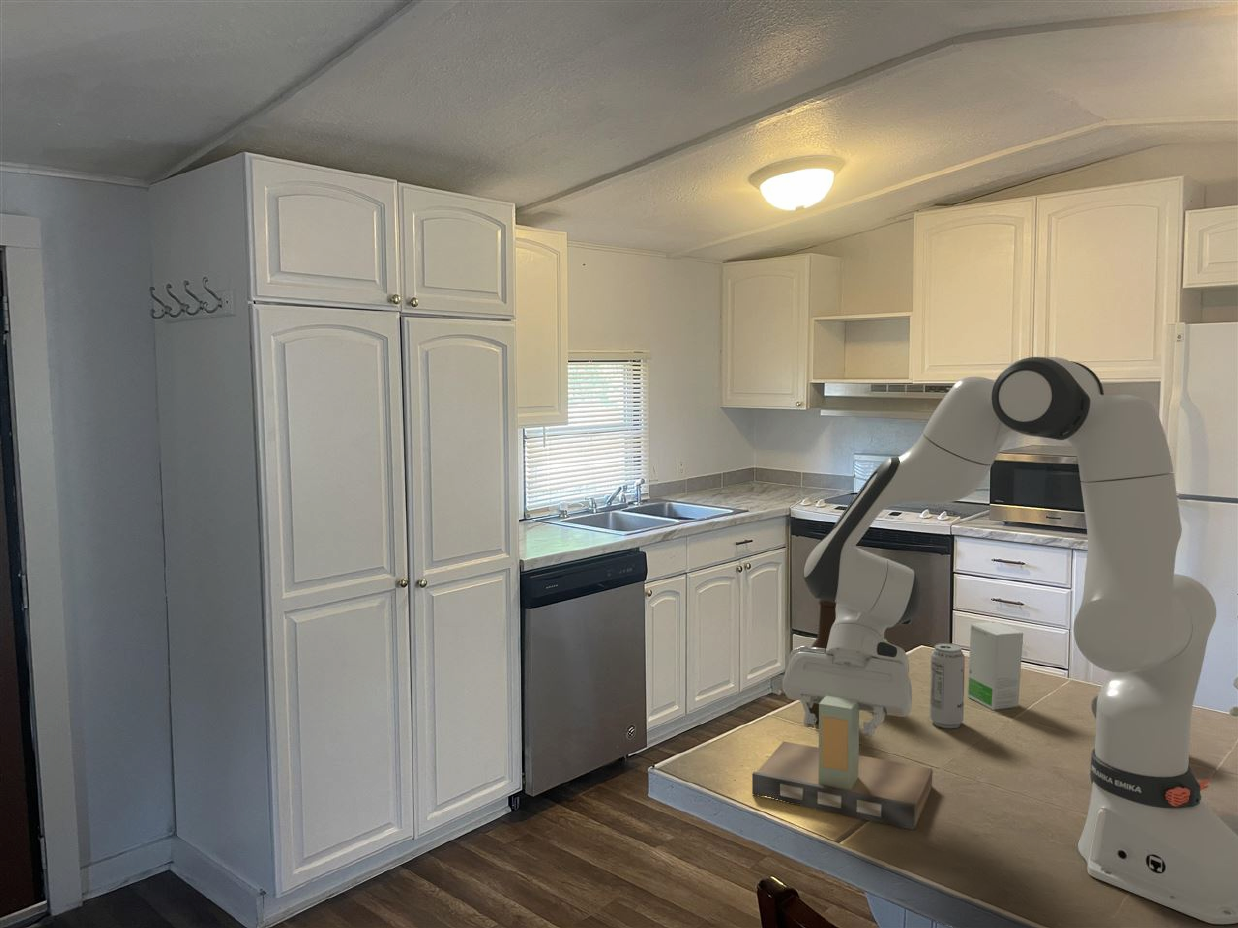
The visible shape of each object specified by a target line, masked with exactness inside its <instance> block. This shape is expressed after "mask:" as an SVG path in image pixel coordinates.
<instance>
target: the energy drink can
mask: <svg viewBox="0 0 1238 928" xmlns="http://www.w3.org/2000/svg"><path fill="white" fill-rule="evenodd" d="M965 657H966V656H965V654H964V652H963V651H962V647H961V645H958V644H955V643H951V642H950V643H949V642H948V643H947V642H941V643H936V644H934V648H933V650H932V652H931V654H930V689H929V691H930V692H929V694H930V697H929V699H930V700H929V718H930V719H931V720H932V723H933V725H935V727H936V726H937V727H940V728H943V729H956V728H959V727H960V726H961V724H962V723H963V722H964V710H965V707H964V706H965V704H964V703H965V671H966V669H965V666H966V664H965V663H966V658H965Z"/></svg>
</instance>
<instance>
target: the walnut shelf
mask: <svg viewBox="0 0 1238 928" xmlns="http://www.w3.org/2000/svg"><path fill="white" fill-rule="evenodd" d="M751 775H752V776H751V777H752V781H751V782H752V783H751V785H752V788H751V789H752V791H751V792H752V794H754V795H759V796H767V797H771V798H774V799H778V800H782V801H785V802H784V803H786V802H789V803H788V804H791V803H794V804H793V805H796V804H798V805H797V806H800V805H802V806H801V807H805V806H806V807H807V808H809V807H811V808H810V809H814V808H816V809H815V810H820V811H823V812H829V813H833V814H837V815H842V816H845V817H846V816H847V817H850V818H851V817H852V818H855V819H860V820H866V821H870V822H875V823H880V824H883V825H887V826H892V827H898V828H902V829H907V830H912V831H914V830H915V828H916V826H917V823H918V821H919V819H920V816H921V814H922V811H923V809H924V807H925V804H926V802H927V800H928V798H929V795H930V794H931V793H930V792H931V791H932V788H933V768H932V767H931V768H930V767H927V766H926V767H925V766H920V765H914V764H909V763H903V762H899V761H892V760H886V759H883V758H876V757H872V756H871V757H870V756H865V755H860V754H859V761H858V779H857V780H856V782H855V784H854V785H853V787H852V789H851V790H846V789H842V788H837V787H832V786H827V785H822V784H819V747H817V746H811V745H806V744H801V743H795V742H790V741H782V742H781V743H780V745H779V746H777V748H776V749H775V751H773V753H772V754H771V755H770V756H769V758H767V760H766V761H765V762H764V763H763V764H762V766H761V767H760V768H759V769H758V770H757V771H753V772H752V773H751ZM752 794H751V795H752ZM754 795H753V796H754ZM759 796H758V797H759ZM782 801H781V802H782Z"/></svg>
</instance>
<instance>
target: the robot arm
mask: <svg viewBox="0 0 1238 928" xmlns="http://www.w3.org/2000/svg"><path fill="white" fill-rule="evenodd" d="M1104 391H1105V390H1104V387H1103V385H1102V382H1101V380H1100V378H1099V377H1098V376H1097V374H1096V373H1095V372H1094V371H1093V370H1091V368H1089V367H1088V366H1086V365H1084V364H1082V363H1080V362H1076V361H1072V360H1071V361H1070V360H1068V359H1066V358H1063V357H1062V358H1061V357H1059V356H1057V357H1056V356H1030V357H1029V356H1028V357H1026V358H1025V357H1024V358H1022V359H1019V360H1017V361H1014V362H1013V363H1011V364H1009V365H1008V366H1007V367H1005V369H1003V370H1002V371H1001V373H1000V374H999V375H998V376H997V377H996V380H992V379H990V378H987V377H982V376H968V377H967V376H966V377H964V378H961V379H959V380H958V381H957V382H955V383H954V384H953V385H952V387H951V388H950V389H949V390H948V392H947V393H946V394H945V396H944V397H943V399H942V400H941V401H940V402H939V404H938V406H937V407H936V409H935V410H934V412H933V413H932V415H931V417H930V418H929V420H928V422H927V423H926V426H925V428H924V429H923V431H922V434H921V435H920V437H919V439H918V440H917V441H916V442H915V444H913V446H911V447H910V448H909V449H908V450H906V451H905V452H904V453H903V454H901V455H899V456H894V457H888V458H887V459H885V460H884V461H883V462H881V464H880V465H879V466H878V467H877V468H876V469H875V470H874V471H873V472H872V473H871V475H870V477H868V479H867V480H866V482H864V484H863V485H862V486H861V488H860V489H859V491H858V492H857V494H855V496H854V498H853V499H852V500H851V501H850V503H849V504H848V506H847V507H846V508H845V510H844V511H843V512H842V514H841V515H840V517H839V518H838V519H837V521H836V522H835V523H834V524H833V526H832V527H831V529H830V530H829V531H828V532H827V533H826V534H825V536H824V537H823V538H822V539H821V540H820V541H819V542H818V544H817V545H816V546H815V547H814V548H813V549H812V551H811V552H810V554H808V556H807V559H806V562H805V563H804V569H803V573H802V578H803V580H804V583H805V585H806V587H807V588H808V590H809V592H810V593H811V594H812V596H813V597H814V598H816V599H818V600H820V599H822V600H825V601H829V602H832V603H834V602H835V603H837V604H836V609H835V612H836V619H835V622H834V623H833V625H832V627H831V630H830V635H829V639H828V644H827V648H826V649H825V648H812V647H811V646H807V645H800V646H799V647H796V648H794V649H793V650H791V651H790V654H789V656H788V662H787V664H788V666H787V668H786V671H785V674H784V676H783V679H782V682H781V683H782V684H781V687H782V689H783V692H784V693H785V695H786V697H787V698H788V699H789V700H792V701H793V700H794V701H800V702H801V705H802V707H803V710H804V713H805V714H804V719H803V725H804V727H806V728H812V729H815V728H816V724H815V723H816V720H817V718H816V717H815V714H812V713H810V711H809V708H812V707H813V703H820V702H821V701H822V700H823V698H824V697H825V696H826V695H828V696H835V697H841V698H848V699H854V700H858V703H859V711H863V712H868V713H869V712H870V713H873V714H874V715H873V717H872V719H871V720H870V721H869V722H865V721H864V722H863V725H862V726H863V728H862V729H861V730H862V731H861V733H862V736H863V738H864V737H866V738H869V739H874V735H875V730H876V729H877V728H878V727H879V726H880V725H881V724H882V723H883V722H884V721H885V718H886V715H888V716H895V717H901V718H905V717H907V716H908V715H909V714H910V713H911V711H912V704H913V689H912V688H913V687H912V683H911V678H910V675H909V674H910V662H909V659H908V655H907V653H906V652H905V649H903V648H902V647H900V646H897V645H896V644H892V643H890V642H888V641H887V642H886V641H884V639H885V632H886V629H888V628H890V629H893V628H895V627H898V626H899V625H902V624H904V623H906V622H908V621H910V620H911V619H912V618H913V617H914V616H916V614H917V611H918V607H919V604H920V599H921V593H922V585H921V582H920V579H919V577H918V576H919V575H918V574H917V573H916V571H915V570H914V569H912V568H910V567H909V566H907V565H904V564H901V563H899V562H896V561H894V560H891V559H889V558H886V557H882V556H879V555H877V554H875V553H872V552H869V551H867V550H865V549H862V548H859V547H857V546H856V545H857V544H858V543H859V541H860V540H861V539H862V537H864V535H865V533H866V532H867V531H868V530H869V528H870V527H871V525H872V524H873V523H874V522H875V520H876V519H877V517H878V516H879V515H880V514H881V513H882V512H883V511H885V510H886V509H887V508H890V507H892V506H895V505H896V506H897V505H903V504H910V503H911V504H912V503H917V504H919V503H920V504H948V503H952V502H957V501H959V500H963V499H965V498H967V497H969V496H970V495H972V494H974V492H976V491H977V490H978V488H979V487H980V485H981V484H982V483H983V481H984V480H985V479H986V477H987V475H988V473H989V471H990V469H991V467H992V466H993V464H994V462H995V460H996V458H997V456H998V455H999V452H1000V450H1001V448H1002V447H1003V445H1004V444H1005V443H1006V441H1007V440H1008V438H1010V437H1011V436H1012V435H1013V434H1014V433H1019V434H1022V435H1025V436H1030V437H1037V438H1038V437H1039V438H1044V439H1045V438H1046V439H1051V440H1056V441H1057V440H1058V441H1063V440H1066V441H1067V442H1069V443H1070V444H1071V446H1072V448H1073V449H1074V452H1075V454H1076V458H1077V464H1078V471H1079V472H1078V473H1079V478H1080V487H1081V494H1082V501H1083V502H1082V503H1083V509H1084V517H1085V525H1086V531H1087V533H1086V534H1087V549H1086V550H1087V551H1086V552H1087V554H1086V564H1085V575H1084V576H1085V577H1084V584H1083V585H1084V586H1083V595H1082V600H1081V603H1080V606H1079V609H1078V611H1077V614H1076V615H1075V618H1074V621H1073V628H1072V629H1073V630H1072V631H1073V637H1074V640H1075V641H1074V642H1075V643H1076V646H1077V647H1078V648H1077V649H1078V650H1079V651H1080V653H1081V654H1082V655H1083V657H1084V658H1086V659H1087V661H1089V662H1090V663H1091V664H1092V665H1094V666H1096V667H1097V668H1099V669H1102V670H1104V671H1107V674H1106V676H1105V680H1104V683H1102V686H1101V688H1100V690H1099V692H1098V693H1097V694H1098V698H1097V712H1096V718H1095V737H1094V738H1095V739H1094V744H1095V745H1094V748H1093V749H1092V751H1091V754H1090V755H1091V756H1090V757H1091V758H1090V771H1089V772H1090V773H1089V775H1090V782H1091V787H1092V788H1091V794H1090V801H1089V802H1090V803H1089V807H1088V812H1087V816H1086V820H1085V824H1084V827H1083V830H1082V833H1081V835H1080V838H1079V841H1078V843H1077V849H1078V852H1079V853H1080V854H1079V855H1081V856H1082V858H1083V859H1084V860H1085V861H1086V864H1087V865H1086V866H1087V867H1086V868H1087V869H1086V870H1087V873H1088V875H1090V876H1091V877H1093V878H1095V879H1097V880H1100V881H1102V882H1105V883H1107V884H1109V885H1112V886H1114V887H1117V888H1120V889H1123V890H1125V891H1127V892H1130V893H1132V894H1135V895H1137V896H1140V897H1143V898H1145V899H1147V900H1150V901H1152V902H1154V903H1158V904H1160V905H1163V906H1165V907H1168V908H1170V909H1173V910H1175V911H1178V912H1180V913H1182V914H1185V915H1186V916H1187V915H1188V916H1189V917H1192V918H1194V919H1197V920H1200V921H1203V922H1205V923H1208V924H1211V925H1213V924H1214V925H1230V924H1231V925H1232V924H1237V923H1238V835H1237V834H1236V833H1235V832H1234V831H1233V830H1232V829H1231V828H1230V827H1229V826H1228V825H1227V824H1225V822H1224V821H1223V820H1222V819H1221V818H1220V817H1219V816H1218V815H1217V814H1216V813H1215V812H1214V811H1213V810H1212V809H1211V808H1210V807H1209V806H1208V805H1207V804H1206V802H1205V801H1204V800H1203V799H1202V794H1201V791H1203V790H1206V789H1208V788H1209V785H1208V783H1209V781H1210V780H1209V779H1207V778H1205V779H1203V780H1201V781H1197V779H1196V777H1195V775H1194V772H1193V770H1192V767H1191V766H1190V764H1189V757H1190V740H1191V723H1192V712H1193V708H1194V707H1193V706H1194V701H1195V697H1196V692H1197V690H1198V686H1199V681H1200V678H1201V674H1202V668H1203V664H1204V659H1205V656H1206V651H1207V644H1208V640H1209V638H1210V637H1209V636H1210V634H1211V632H1212V629H1213V627H1214V625H1215V622H1216V619H1217V605H1216V602H1215V600H1214V598H1213V595H1212V594H1211V592H1210V591H1209V590H1208V589H1207V587H1206V586H1204V585H1203V584H1202V583H1201V582H1200V581H1197V580H1196V579H1194V578H1192V577H1190V576H1186V575H1182V574H1178V573H1175V568H1176V567H1175V566H1176V557H1177V551H1178V545H1179V543H1180V540H1181V537H1182V531H1183V530H1182V523H1181V516H1180V515H1181V514H1180V509H1179V508H1180V507H1179V502H1178V501H1179V500H1178V494H1177V487H1176V481H1175V480H1176V479H1175V473H1174V467H1173V459H1172V457H1171V456H1172V455H1171V451H1170V447H1169V444H1168V440H1167V437H1166V433H1165V430H1164V427H1163V424H1162V422H1161V419H1160V416H1159V414H1158V411H1157V409H1156V407H1155V406H1154V405H1153V403H1151V402H1150V401H1148V400H1147V399H1145V398H1142V397H1139V396H1135V395H1131V394H1114V395H1113V394H1112V395H1105V393H1104Z"/></svg>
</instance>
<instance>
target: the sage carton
mask: <svg viewBox="0 0 1238 928" xmlns="http://www.w3.org/2000/svg"><path fill="white" fill-rule="evenodd" d="M859 730H860V710H859V703H858V700H854V699H848V698H841V697H835V696H828V695H826V696H825V697H824V698H823V700H822V701H821V702H820V703H819V725H818V748H819V784H822V785H827V786H832V787H837V788H842V789H846V790H851V789H852V787H853V785H854V784H855V782H856V780H857V779H858V761H859V755H860V754H859V750H860V749H859V748H860V747H859V745H860V744H859V742H860V739H859V738H860V736H859V735H860V731H859Z"/></svg>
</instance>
